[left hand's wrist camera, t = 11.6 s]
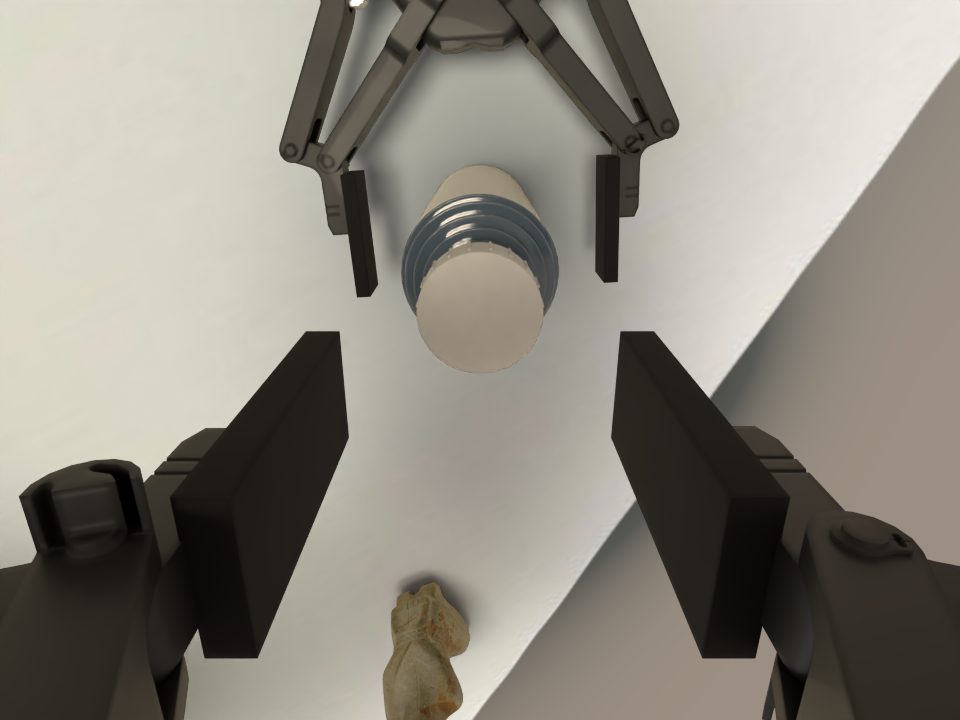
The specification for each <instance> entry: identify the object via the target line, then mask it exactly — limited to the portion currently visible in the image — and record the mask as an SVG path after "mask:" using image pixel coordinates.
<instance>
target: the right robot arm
mask: <svg viewBox="0 0 960 720" xmlns="http://www.w3.org/2000/svg"><path fill="white" fill-rule="evenodd" d="M393 1H394V2H395V4H396V5H397V6H398V8H399V9H400V10H401V12H402V13H403V14H402V15H401V17H400V19H399V20H398V22H397V23H396V25H395V27H394V28H393V30H392V32H391V33H390V35H389V37H388V38H387V41H386V44H385V46H384V48H383V50H382V51H381V53H380V55H379V56H378V58H377V60H376V61H375V63H374V64H373V66H372V68H371V69H370V71H369V72H368V74H367V76H366V77H365V79H364V81H363V82H362V84H361V85H360V87H359V89H358V90H357V92H356V94H355V95H354V97H353V98H352V100H351V102H350V103H349V105H348V106H347V108H346V110H345V111H344V113H343V115H342V116H341V118H340V119H339V121H338V123H337V124H336V126H335V127H334V129H333V131H332V132H331V134H330V136H329V137H328V139H327V140H326V142H325V144H323V143H319V142H318V139H319V136H320V133H321V130H322V126H323V123H324V120H325V117H326V114H327V110H328V107H329V104H330V101H331V97H332V94H333V91H334V88H335V84H336V81H337V78H338V75H339V72H340V68H341V65H342V62H343V59H344V55H345V52H346V49H347V46H348V42H349V39H350V36H351V33H352V29H353V25H354V19H355V10H356V9H362V8H364V7H365V6H366V5H367V3H368V0H321V4H320V7H319V11H318V14H317V18H316V21H315V25H314V28H313V32H312V35H311V39H310V42H309V46H308V49H307V52H306V56H305V59H304V63H303V66H302V70H301V73H300V77H299V80H298V84H297V87H296V91H295V94H294V98H293V101H292V104H291V108H290V111H289V115H288V118H287V122H286V125H285V129H284V132H283V136H282V139H281V143H280V147H279V152H280V155H281V156H282V158H283V159H284V160H285V161H287V162H290V163H297V164H301V165H304V166H307V167H310V168H312V169H314V170H315V171H316V172H317V173H318V174H319V176H320V178H321V181H322V188H323V194H324V201H325V207H326V214H327V221H328V226H329V228H330V230H331V232H332V234H333V235H343V234H348V236H349V243H350V250H351V257H352V265H353V272H354V279H355V286H356V294H357V297H371V295H372V293H373V292H374V290H375V289H376V287H377V285H378V279H377V271H376V263H375V255H374V247H373V239H372V231H371V223H370V215H369V207H368V199H367V191H366V183H365V175H364V170H358V171H349V170H348V167H349V166H350V165H349V163H350V161H351V159H352V158H353V156H354V155H355V153H356V152H357V150H358V148H359V147H360V145H361V144H362V142H363V141H364V139H365V138H366V136H367V134H368V133H369V131H370V130H371V128H372V127H373V125H374V123H375V122H376V120H377V119H378V117H379V116H380V114H381V112H382V111H383V109H384V108H385V106H386V105H387V103H388V102H389V100H390V98H391V97H392V95H393V94H394V92H395V91H396V89H397V87H398V86H399V84H400V83H401V81H402V80H403V78H404V76H405V75H406V73H407V72H408V70H409V69H410V67H411V66H412V65H413V64H414V63H415V61H416V60H417V58H418V57H419V55H420V54H421V52H422V51H423V49H424V47H425V46H426V44H427V45H428V46H429V47H431V48H432V49H434V50H436V51H438V52H442V53H443V54H455V53H460V52H463V51H465V50H468V49H471V48H476V49H481V50H485V51H499V50H503V49H504V48H506V47H508V46H510V45H511V44H513V43H514V42H515V41H516V40H517V39H518V38H519V39H520V40H521V41H522V43H523V44H524V45H525V46H526V47H527V49H528V50H529V51H530V52H531V53H532V54H533V55H534V56H535V57H536V58H537V59H538V60H539V61H540V62H541V64H542V65H543V66H544V67H545V68H546V70H547V71H548V72H549V73H550V74H551V76H552V77H553V78H554V79H555V80H556V82H557V83H558V84H559V85H560V86H561V88H562V89H563V90H564V91H565V92H566V94H567V95H568V96H569V97H570V98H571V100H572V101H573V102H574V103H575V104H576V106H577V107H578V108H579V109H580V110H581V112H582V113H583V114H584V115H585V116H586V118H587V119H588V120H589V121H590V122H591V124H592V125H593V126H594V127H595V129H596V130H597V131H598V132H599V133H600V135H601V136H602V137H603V138H604V139H605V141H606V142H607V143H608V144H609V145H610V147H611V148H612V155H610V154H609V155H596V255H595V272H596V273H597V274H598V276H599V277H600V278H601V279H602V281H603V282H604V283H609V282H618V250H619V217H634V216H635V214H636V211H637V209H638V205H639V175H640V158H641V155H642V153H643V151H644V150H645V149H646V148H647V147H649V146H650V145H652V144H655V143H657V142H659V141H662V140H664V139H669V138H671V137H673V136H674V135H675V134H676V133H677V131H678V129H679V120H678V118H677V115H676V113H675V111H674V108H673V106H672V104H671V101H670V99H669V97H668V94H667V92H666V90H665V87H664V85H663V83H662V80H661V78H660V76H659V73H658V71H657V69H656V66H655V64H654V62H653V59H652V57H651V55H650V52H649V50H648V48H647V45H646V43H645V41H644V38H643V36H642V34H641V31H640V29H639V26H638V24H637V22H636V19H635V17H634V15H633V12H632V10H631V8H630V5H629V3H628V1H627V0H587V2H588V5H589V8H590V11H591V14H592V16H593V18H594V21H595V23H596V25H597V27H598V30H599V32H600V34H601V36H602V38H603V41H604V43H605V45H606V47H607V50H608V52H609V54H610V56H611V59H612V61H613V63H614V65H615V67H616V70H617V72H618V74H619V76H620V79H621V81H622V83H623V85H624V87H625V90H626V92H627V94H628V96H629V99H630V101H631V103H632V105H633V108H634V110H635V112H636V114H637V116H638V119H639V122H636V123H634V124H632V122H631V121H630V120H629V119H628V117H627V116H626V115H625V114H624V112H623V111H622V110H621V109H620V107H619V106H618V105H617V104H616V103H615V101H614V100H613V99H612V98H611V96H610V95H609V94H608V93H607V91H606V90H605V89H604V88H603V86H602V85H601V84H600V83H599V82H598V80H597V79H596V78H595V77H594V75H593V74H592V73H591V72H590V70H589V69H588V68H587V67H586V65H585V64H584V63H583V62H582V60H581V59H580V58H579V57H578V56H577V54H576V53H575V52H574V51H573V49H572V48H571V47H570V46H569V44H568V43H567V42H566V41H565V39H564V38H563V37H562V36H561V34H560V32H559V30H558V28H557V27H556V25H555V24H554V23H553V22H552V20H551V19H550V18H549V17H548V15H547V14H546V13H545V12H544V10H543V9H542V8H541V7H540V5H539V3H540V1H541V0H393Z"/></svg>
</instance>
